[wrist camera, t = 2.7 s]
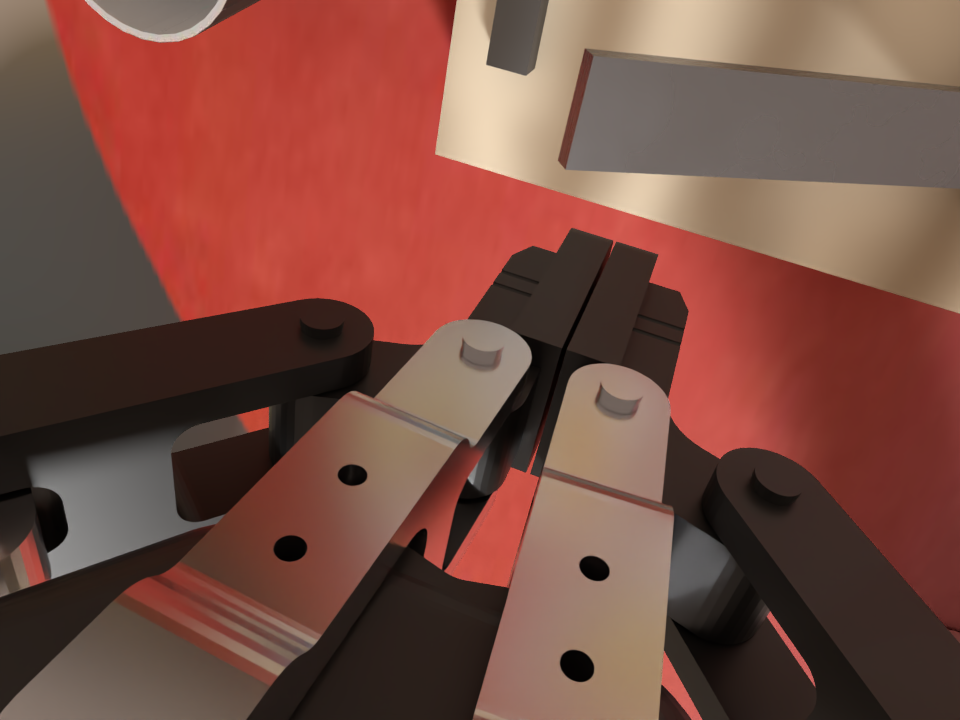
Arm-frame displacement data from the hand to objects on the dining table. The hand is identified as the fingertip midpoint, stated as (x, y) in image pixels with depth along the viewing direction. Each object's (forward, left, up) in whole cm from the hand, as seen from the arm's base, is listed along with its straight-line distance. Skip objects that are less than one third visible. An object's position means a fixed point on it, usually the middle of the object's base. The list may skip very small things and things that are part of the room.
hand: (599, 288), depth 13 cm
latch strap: (-4, -2, -13) cm, 14 cm away
